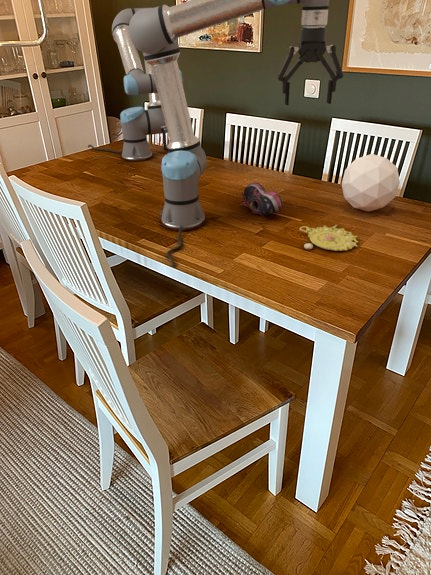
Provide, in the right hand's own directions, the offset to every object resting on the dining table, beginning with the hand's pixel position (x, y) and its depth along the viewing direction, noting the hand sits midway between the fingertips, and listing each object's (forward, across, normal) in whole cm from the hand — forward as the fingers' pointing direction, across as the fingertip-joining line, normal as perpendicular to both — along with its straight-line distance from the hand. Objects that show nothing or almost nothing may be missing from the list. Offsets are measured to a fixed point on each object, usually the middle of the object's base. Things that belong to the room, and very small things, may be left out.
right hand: (307, 103), depth 142 cm
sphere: (+37, +25, 0) cm, 44 cm away
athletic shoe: (+37, -15, +1) cm, 40 cm away
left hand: (+33, -45, +47) cm, 73 cm away
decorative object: (+37, +5, -24) cm, 44 cm away
